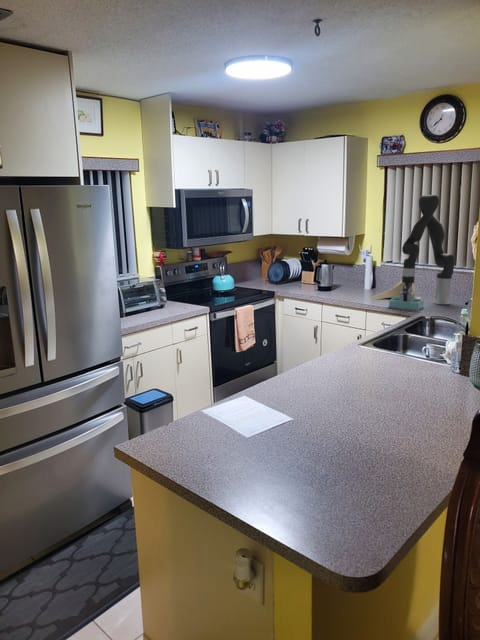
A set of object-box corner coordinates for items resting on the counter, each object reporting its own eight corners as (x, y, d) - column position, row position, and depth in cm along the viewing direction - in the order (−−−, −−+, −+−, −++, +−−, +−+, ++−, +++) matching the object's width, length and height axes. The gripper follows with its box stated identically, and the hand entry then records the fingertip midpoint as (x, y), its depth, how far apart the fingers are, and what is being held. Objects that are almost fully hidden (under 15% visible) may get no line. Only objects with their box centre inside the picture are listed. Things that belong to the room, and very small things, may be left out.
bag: (416, 302, 356) (367, 298, 359) (419, 278, 353) (370, 274, 357) (423, 304, 336) (371, 300, 340) (426, 279, 334) (374, 275, 338)
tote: (394, 304, 326) (395, 296, 325) (422, 306, 317) (423, 299, 316) (388, 307, 313) (389, 300, 312) (417, 310, 304) (418, 302, 303)
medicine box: (413, 306, 314) (414, 292, 312) (410, 307, 311) (412, 293, 309) (401, 304, 319) (402, 291, 317) (398, 305, 315) (399, 292, 313)
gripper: (405, 273, 318) (403, 298, 322) (399, 276, 306) (397, 301, 310) (417, 274, 314) (415, 299, 318) (412, 276, 303) (410, 302, 306)
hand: (406, 300), depth 314 cm, fingers open, 8 cm apart
